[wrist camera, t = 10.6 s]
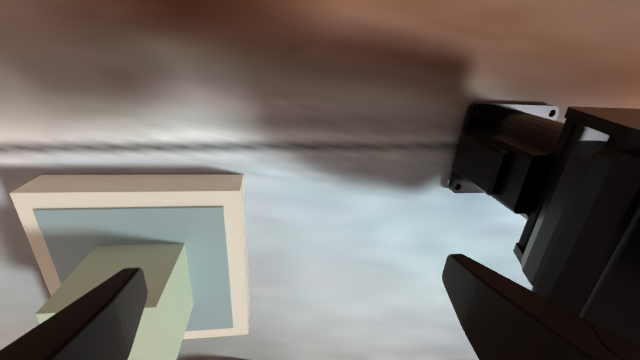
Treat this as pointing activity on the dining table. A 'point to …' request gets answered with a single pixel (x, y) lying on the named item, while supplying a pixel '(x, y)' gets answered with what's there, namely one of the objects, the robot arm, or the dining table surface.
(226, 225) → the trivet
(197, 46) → the dining table surface
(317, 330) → the dining table surface
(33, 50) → the dining table surface
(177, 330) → the cube
